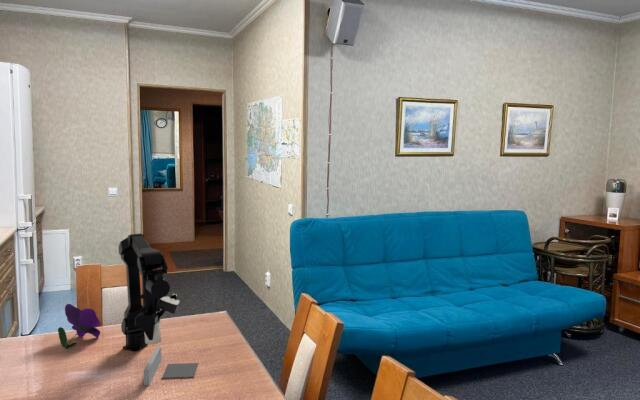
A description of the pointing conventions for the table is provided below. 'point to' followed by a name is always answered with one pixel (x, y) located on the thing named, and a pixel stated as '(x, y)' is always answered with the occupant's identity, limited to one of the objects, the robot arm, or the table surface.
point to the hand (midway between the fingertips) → (153, 336)
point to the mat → (180, 370)
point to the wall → (152, 366)
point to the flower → (79, 323)
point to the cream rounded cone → (155, 335)
